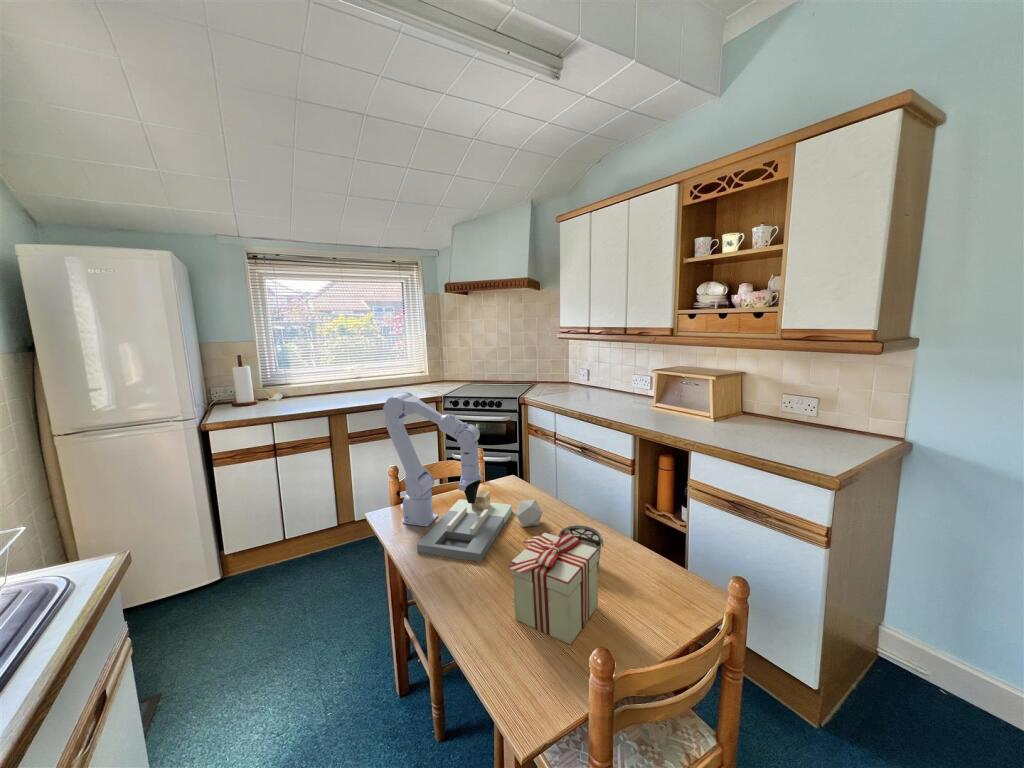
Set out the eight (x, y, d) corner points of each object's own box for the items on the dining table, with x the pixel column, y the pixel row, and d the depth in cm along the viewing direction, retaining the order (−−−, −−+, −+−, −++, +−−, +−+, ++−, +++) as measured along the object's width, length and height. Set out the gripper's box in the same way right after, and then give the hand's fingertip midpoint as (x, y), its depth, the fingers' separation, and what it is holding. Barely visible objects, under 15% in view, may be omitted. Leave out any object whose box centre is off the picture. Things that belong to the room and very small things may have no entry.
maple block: (471, 509, 144) (471, 496, 144) (477, 503, 149) (476, 490, 148) (485, 511, 143) (484, 497, 142) (490, 504, 148) (489, 491, 147)
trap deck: (417, 552, 124) (416, 538, 123) (459, 505, 153) (459, 494, 153) (480, 561, 118) (480, 547, 118) (512, 511, 148) (511, 499, 147)
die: (537, 534, 133) (549, 506, 136) (513, 522, 133) (526, 494, 135) (531, 531, 141) (543, 504, 144) (508, 519, 141) (521, 493, 143)
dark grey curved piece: (607, 562, 116) (608, 529, 115) (602, 575, 111) (603, 540, 109) (565, 553, 121) (564, 521, 120) (558, 564, 116) (558, 531, 114)
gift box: (532, 580, 110) (530, 519, 107) (600, 603, 100) (601, 537, 97) (497, 622, 95) (494, 553, 92) (573, 653, 86) (573, 577, 83)
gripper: (473, 472, 128) (474, 514, 130) (489, 456, 141) (490, 494, 144) (451, 470, 130) (453, 511, 132) (469, 454, 143) (471, 492, 146)
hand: (471, 502), depth 138 cm, fingers closed
